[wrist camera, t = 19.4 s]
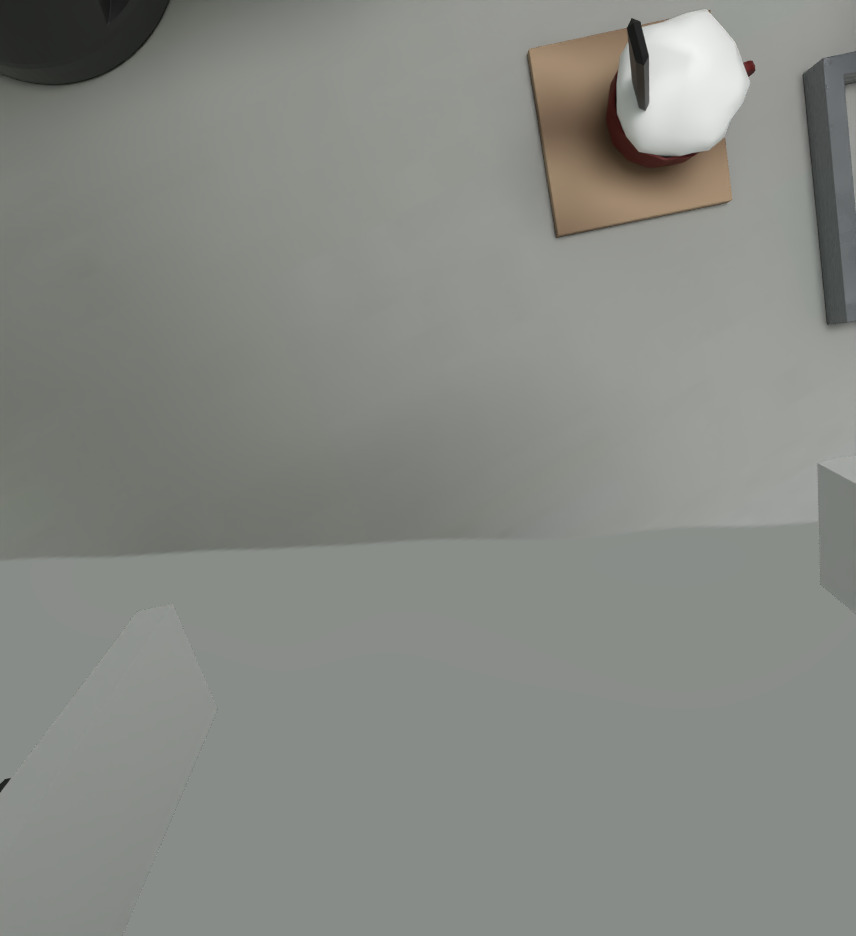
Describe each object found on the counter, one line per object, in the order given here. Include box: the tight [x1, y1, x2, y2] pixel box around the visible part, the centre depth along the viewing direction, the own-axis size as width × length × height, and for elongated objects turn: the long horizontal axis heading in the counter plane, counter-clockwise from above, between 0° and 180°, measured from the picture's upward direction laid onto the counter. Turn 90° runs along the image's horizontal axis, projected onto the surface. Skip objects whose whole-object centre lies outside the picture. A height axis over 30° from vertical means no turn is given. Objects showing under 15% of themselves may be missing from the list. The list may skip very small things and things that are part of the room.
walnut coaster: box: [527, 10, 732, 238], centre depth 35 cm, size 10×10×1 cm
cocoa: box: [606, 9, 755, 168], centre depth 29 cm, size 10×6×12 cm, turn 87°
